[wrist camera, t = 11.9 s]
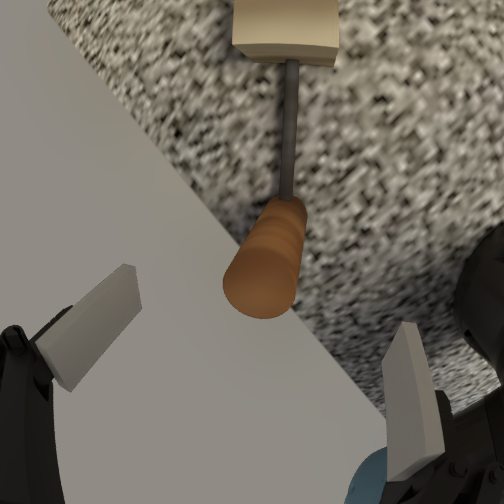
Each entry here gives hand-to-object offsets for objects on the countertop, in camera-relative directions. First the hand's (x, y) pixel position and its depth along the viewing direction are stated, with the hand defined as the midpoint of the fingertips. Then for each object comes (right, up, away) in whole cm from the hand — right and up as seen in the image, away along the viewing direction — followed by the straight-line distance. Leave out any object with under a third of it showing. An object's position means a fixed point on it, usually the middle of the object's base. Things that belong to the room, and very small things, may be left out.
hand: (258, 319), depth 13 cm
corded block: (+3, +14, +7) cm, 15 cm away
